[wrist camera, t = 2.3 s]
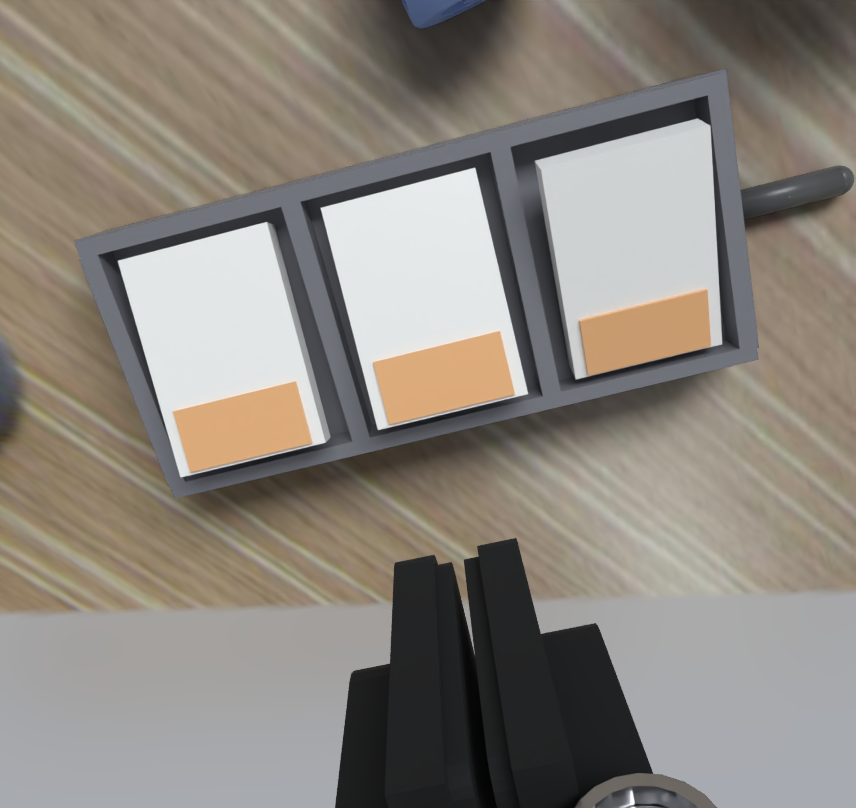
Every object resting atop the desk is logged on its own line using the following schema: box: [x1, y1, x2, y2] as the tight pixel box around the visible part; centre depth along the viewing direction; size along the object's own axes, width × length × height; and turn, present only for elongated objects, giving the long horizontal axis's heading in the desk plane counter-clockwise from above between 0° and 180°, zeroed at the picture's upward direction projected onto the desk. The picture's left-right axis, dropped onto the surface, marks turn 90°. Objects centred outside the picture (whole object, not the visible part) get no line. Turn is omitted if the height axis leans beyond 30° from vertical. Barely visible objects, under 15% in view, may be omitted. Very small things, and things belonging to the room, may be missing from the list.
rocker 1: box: [118, 222, 330, 477], centre depth 25 cm, size 5×7×1 cm
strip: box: [75, 69, 854, 498], centre depth 27 cm, size 26×9×4 cm, turn 104°
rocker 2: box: [535, 118, 722, 379], centre depth 25 cm, size 5×7×1 cm
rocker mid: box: [321, 168, 528, 430], centre depth 25 cm, size 5×7×1 cm
